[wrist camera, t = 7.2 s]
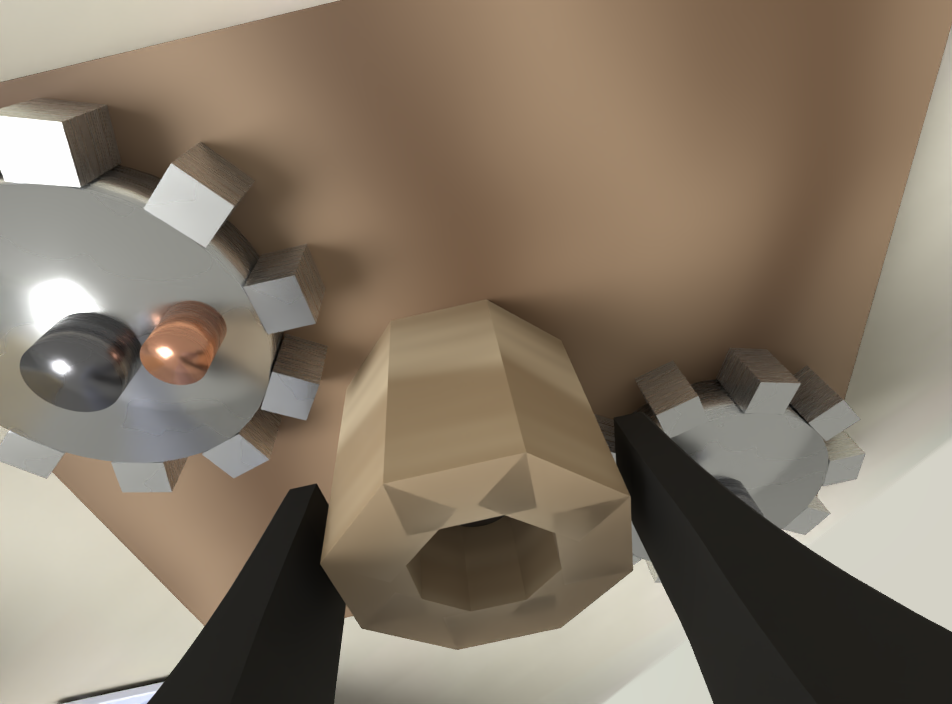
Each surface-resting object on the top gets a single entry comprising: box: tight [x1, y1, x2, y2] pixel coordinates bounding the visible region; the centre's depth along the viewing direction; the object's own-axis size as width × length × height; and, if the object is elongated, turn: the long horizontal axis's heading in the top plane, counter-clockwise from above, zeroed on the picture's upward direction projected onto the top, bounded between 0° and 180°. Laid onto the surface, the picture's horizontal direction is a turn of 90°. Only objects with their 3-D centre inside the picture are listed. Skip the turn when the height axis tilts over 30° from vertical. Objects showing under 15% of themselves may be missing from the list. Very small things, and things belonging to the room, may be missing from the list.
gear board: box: [0, 0, 952, 626], centre depth 13 cm, size 22×18×5 cm
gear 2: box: [594, 348, 865, 582], centre depth 15 cm, size 8×8×2 cm
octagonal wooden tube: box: [320, 299, 633, 650], centre depth 12 cm, size 6×6×5 cm
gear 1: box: [0, 98, 328, 492], centre depth 10 cm, size 8×8×3 cm
